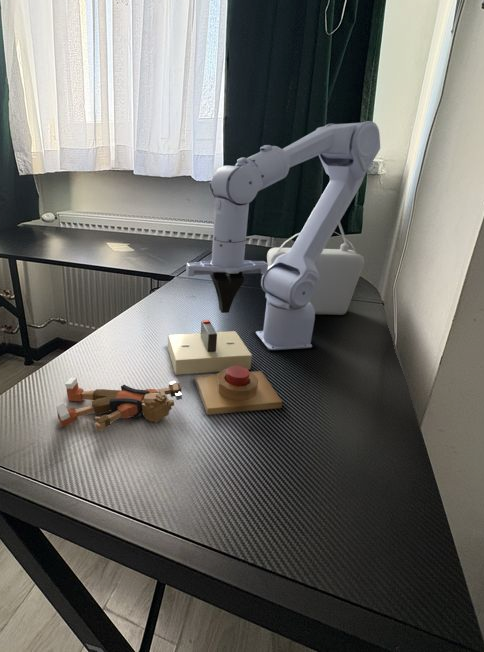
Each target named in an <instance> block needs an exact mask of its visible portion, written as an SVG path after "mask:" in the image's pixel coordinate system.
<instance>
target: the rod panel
mask: <svg viewBox="0 0 484 652" xmlns="http://www.w3.org/2000/svg"><path fill="white" fill-rule="evenodd" d="M216 333H217V344H216V351H215V352H208V351H207V349H206V347H205V345H204V343H203V341H202V339H201V332H194V333H193V332H192V333H177V334H175V333H174V334H167V349H168V353H169V357H170V360H171V363H172V367H173V371H174V374H175V376H177V375H191V374H203V373H205V374H206V373H219V372H220V371H223V370H225V369H228V368H229V367H231V366H241V367H244V368H246V369H248V370H251V367H252V358H253V354H252V353H251V351H250V350H249V349H248V347H247V345H246V344H245V343H244V341H243V340H242V338H241V337H240V336H239V334H238V333H237V332H236V330H231V331H216Z"/></svg>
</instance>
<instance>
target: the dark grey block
mask: <svg viewBox="0 0 484 652" xmlns="http://www.w3.org/2000/svg"><path fill="white" fill-rule="evenodd" d="M216 332H217V331H216V330H215V328H214V326H213V324H212V323H211V321H210V319H202V320H201V323H200V333H201V339H202V341H203V343H204V345H205V347H206V349H207V351H208V352H215V351H216V344H217V333H216Z"/></svg>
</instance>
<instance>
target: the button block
mask: <svg viewBox="0 0 484 652" xmlns="http://www.w3.org/2000/svg"><path fill="white" fill-rule="evenodd" d="M226 376H227V369H225V370H223V371H220V372H218V373H216V374H215V373H213V374H202V375H195V376H194V383H195V386H196V388H197V392H198V393H199V397H200V399H201V402H202V404H203V407H204V410H205V413H206V415H208V416H210V415H220V414H229V413H230V414H232V413H243V412H253V411H263V410H274V409H282V408H283V407H282V406H283V400H282V399H281V398H280V396H279V395H278V393H277V392H276V390H275V389H274V387H273V386H272V384H271V383H270V381H269V380H268V378H267V377H266V375H265V374H264V373H263V371H262V370H256V371H249V382H248V384H247V385H246V386H234V385H231V384H229V383H227V381H226Z"/></svg>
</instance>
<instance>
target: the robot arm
mask: <svg viewBox="0 0 484 652" xmlns="http://www.w3.org/2000/svg"><path fill="white" fill-rule="evenodd" d="M380 150H381V136H380V129H379V127H378V125H377V123H376V122H374V121H373V120H372V121H371V120H367V121H362V122H349V123H328V124H326V125H324V126H320V127H319V126H318V127H317V128H316V129H315V130H314V131H312V132H310V133H308V134H307V135H305V136H303V137H301V138H299V139H298V140H296V141H294V142H292V143H290V144H289V145H287V146H285V147H283V148H282V147H279V146H278V145H277V146H276V145H271V144H264V145H262V146H260V148H259V151H258V152H257V153H255V154H252V155H251V156H248V157H240V158H238V159H237V160H236V163H235V165H222V166H220V167H219V168H217V170H215V172H214V173H213V176H212V178H211V181H209V182H208V190H209V193H210V195H211V196H212V198H213V207H214V209H213V210H214V213H213V230H212V245H211V246H212V249H211V260H210V259H209V260H203V261H194V262H186V270H185V271H186V272H185V273H186V275H187V277H195V276H204V275H205V276H206V275H208V276H210V279H211V280H212V282H213V286H214V289H215V292H216V296H217V300H218V309H219V311H220V313H222V314H228V313H230V310H231V307H232V304H233V302H234V300H235V297H236V295H237V293H238V291H239V290H240V289H241V287H242V286H243V284H244V282H245V277H244V276H243V275H244V274H261V279H260V287H261V289H262V291H263V292H264V293H265V299H266V303H265V304H266V305H265V312H264V321H263V329H262V330H257V331H255V335H256V336H257V337H258V338H259V339H260V341H261V342H262V344H263V345H264V346H265V348H266V349H267V350H269V351H282V350H284V351H285V350H297V349H298V350H299V349H311V348H313V345H312V344H311V343H312V339H313V332H314V326H315V320H316V314H315V312H314V308H313V306H312V304H311V303H310V300H311V299H312V297H313V295H314V292H315V287H316V284H317V282H318V281H319V279H320V276H319V273H318V271H317V269H316V266H315V263H316V261H317V259H318V258H319V256H320V254H321V253H322V251H323V249H325V248H326V246H327V244H328V242H329V240H330V239H331V237H332V235H333V234H334V233H335V231H336V229H337V227H338V226H339V225H338V223H339V222H340V223H341V220H342V218H343V216H345V214H346V211H348V208H349V207H350V205H351V203H352V202H353V200H354V198H355V196H356V194H357V192H358V191H359V189H360V188H361V186H362V184H363V181H364V179H365V176H366V174H367V172H368V171H369V169H370V167H371V165H372V164H373V162H374V160H375V159H376V157H377V155H378V153H379V152H380ZM317 156H318V157H319V160H320V163H321V165H322V167H323V169H324V171H325V174H326V175H328V176H329V182H328V184H327V186H326V187H325V189H324V191H323V193H322V194H321V195H320V198H319V199H318V201H317V203H316V204H315V207H313V209H312V211H311V213H310V215H309V217H308V218H307V220H306V222H305V223H304V226H303V228H302V229H301V231H300V232H299V233H300V234H299V235H297V237H296V239H295V241H294V242H293V245H292V246H291V247H290V248H291V250H290V251H289V252H288V253H286V254H283V255H281V256H279V257H277V258H276V260H275V261H274V263H273V264H272V265H271V266H270V267H269V268H268V264H267V261H264V260H249V259H245V253H246V243H247V231H248V221H249V220H248V219H249V211H250V210H249V209H250V208H249V207H250V203H251V202H253V200H254V199H255V198H256V196H257V194H258V192H260V191H261V190H264V189H266V188H267V187H270V186H272V185H273V184H276V183H277V182H279V181H282V180H283V179H285V178H287V176H288V174H289V171H290V168H292V167H295V166H296V165H297V166H298V165H299V164H302V163H304V162H306V161H308V160H311V159H314V158H315V157H317ZM293 271H296V272H298V273H300V274H298V273H295V272H293Z"/></svg>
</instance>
